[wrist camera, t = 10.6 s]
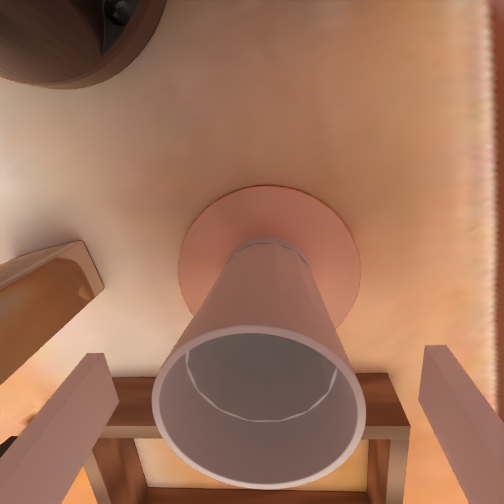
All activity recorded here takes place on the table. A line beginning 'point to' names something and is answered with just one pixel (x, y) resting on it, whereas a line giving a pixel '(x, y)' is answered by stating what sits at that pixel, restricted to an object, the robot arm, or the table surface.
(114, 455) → the hinged wooden box
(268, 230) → the saucer
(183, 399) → the cup
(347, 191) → the table surface
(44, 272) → the skincare box
